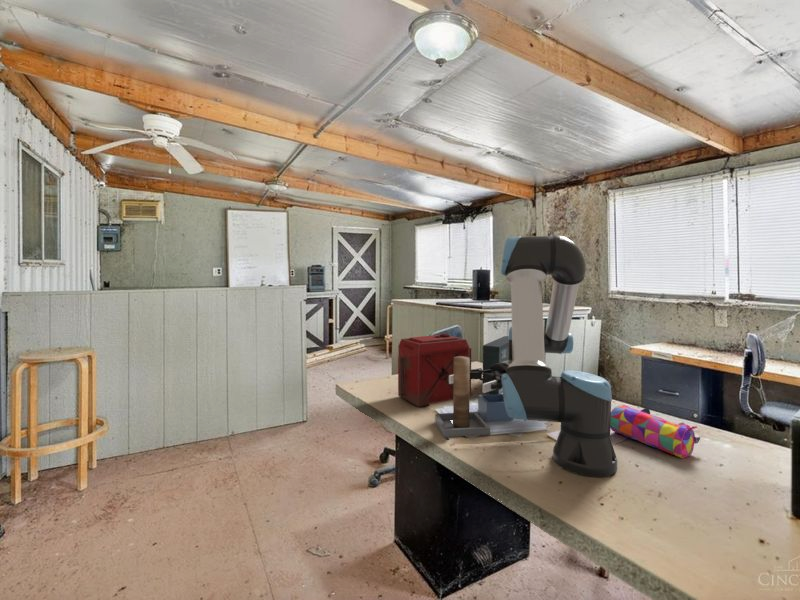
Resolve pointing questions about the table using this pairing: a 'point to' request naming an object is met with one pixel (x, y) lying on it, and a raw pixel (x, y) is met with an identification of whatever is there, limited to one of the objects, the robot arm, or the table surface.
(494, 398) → the open box
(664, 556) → the table surface
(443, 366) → the jerry can
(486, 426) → the tray
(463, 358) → the dowel
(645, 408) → the electric trimmer
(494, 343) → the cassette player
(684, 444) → the pencil case
